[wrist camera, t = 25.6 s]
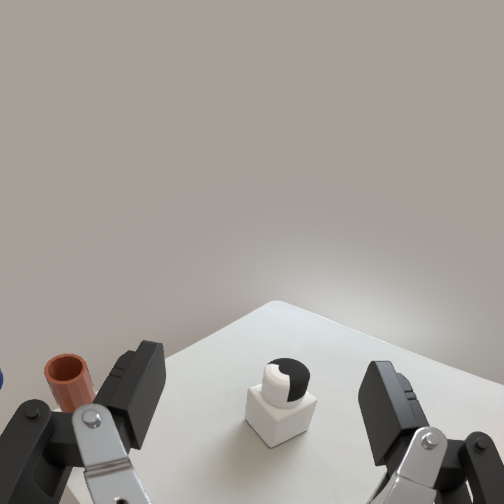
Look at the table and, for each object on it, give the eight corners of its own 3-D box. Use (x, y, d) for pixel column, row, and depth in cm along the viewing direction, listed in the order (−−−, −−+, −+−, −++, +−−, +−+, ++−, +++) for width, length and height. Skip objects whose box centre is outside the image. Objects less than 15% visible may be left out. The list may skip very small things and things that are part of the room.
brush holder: (78, 453, 30) (43, 386, 25) (73, 424, 35) (44, 355, 30) (114, 448, 33) (88, 381, 28) (106, 420, 37) (84, 350, 33)
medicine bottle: (281, 402, 46) (292, 346, 42) (308, 429, 40) (326, 374, 36) (243, 418, 42) (249, 361, 38) (270, 449, 37) (282, 395, 33)
